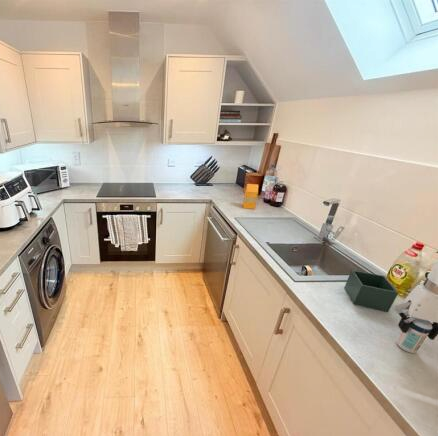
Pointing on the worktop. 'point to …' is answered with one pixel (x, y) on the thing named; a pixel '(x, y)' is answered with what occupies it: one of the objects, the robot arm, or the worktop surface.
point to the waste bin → (370, 290)
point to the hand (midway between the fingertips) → (415, 332)
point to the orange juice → (250, 196)
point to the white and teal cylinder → (414, 335)
